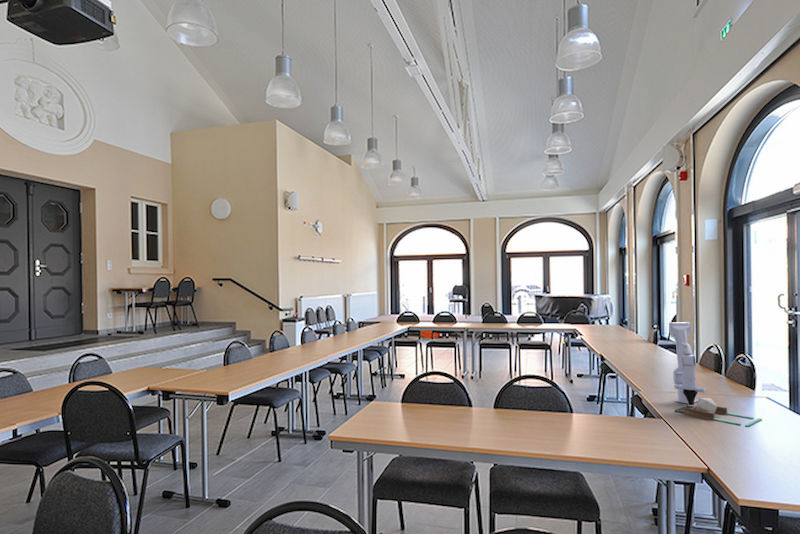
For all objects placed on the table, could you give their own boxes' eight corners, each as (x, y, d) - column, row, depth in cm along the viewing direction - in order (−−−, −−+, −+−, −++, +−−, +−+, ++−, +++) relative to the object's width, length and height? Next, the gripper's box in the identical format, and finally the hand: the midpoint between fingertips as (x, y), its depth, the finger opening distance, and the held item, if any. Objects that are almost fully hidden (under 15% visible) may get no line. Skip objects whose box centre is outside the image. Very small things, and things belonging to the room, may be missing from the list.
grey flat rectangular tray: (686, 407, 241) (686, 405, 241) (696, 408, 237) (696, 406, 237) (674, 411, 235) (674, 409, 235) (685, 413, 230) (684, 411, 230)
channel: (699, 408, 237) (698, 402, 237) (727, 413, 226) (726, 407, 226) (684, 414, 229) (684, 408, 229) (713, 420, 218) (712, 413, 218)
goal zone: (727, 413, 226) (727, 412, 226) (761, 420, 214) (761, 418, 214) (713, 420, 218) (713, 418, 218) (748, 426, 206) (748, 425, 206)
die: (716, 413, 229) (702, 396, 234) (724, 409, 222) (709, 392, 227) (703, 421, 228) (688, 403, 233) (711, 417, 221) (696, 399, 226)
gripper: (670, 377, 238) (672, 403, 237) (700, 381, 226) (702, 409, 225) (677, 375, 242) (679, 400, 241) (707, 379, 229) (709, 406, 229)
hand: (691, 404), depth 233 cm, fingers closed
